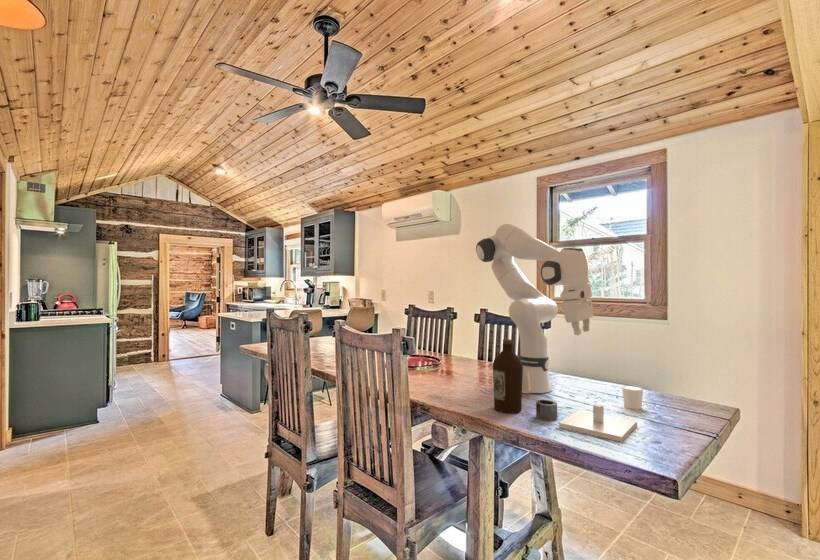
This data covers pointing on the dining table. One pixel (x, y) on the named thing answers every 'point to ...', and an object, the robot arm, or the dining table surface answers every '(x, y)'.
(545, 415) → the steel collar
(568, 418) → the post stand
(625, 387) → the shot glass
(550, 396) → the dining table surface
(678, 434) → the dining table surface
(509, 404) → the olive oil
